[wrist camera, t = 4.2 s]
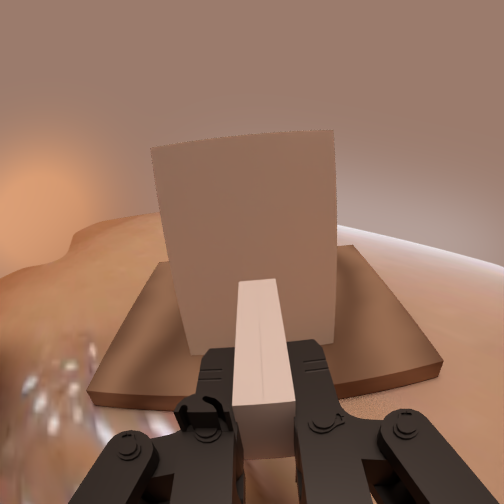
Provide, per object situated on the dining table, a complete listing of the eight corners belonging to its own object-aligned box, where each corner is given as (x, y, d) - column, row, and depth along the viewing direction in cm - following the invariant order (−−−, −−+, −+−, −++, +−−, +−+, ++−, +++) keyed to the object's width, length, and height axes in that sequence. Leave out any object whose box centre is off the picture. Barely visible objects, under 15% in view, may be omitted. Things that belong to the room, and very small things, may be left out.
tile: (191, 355, 21) (150, 147, 16) (195, 335, 23) (161, 145, 18) (333, 343, 21) (333, 129, 16) (326, 324, 23) (323, 130, 18)
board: (94, 405, 18) (86, 390, 17) (161, 273, 38) (159, 262, 38) (438, 376, 18) (443, 360, 17) (352, 256, 38) (352, 244, 37)
